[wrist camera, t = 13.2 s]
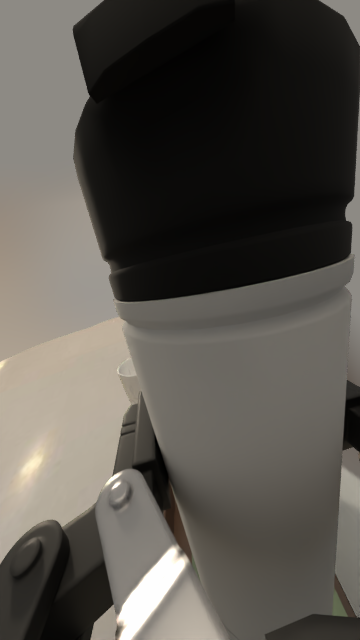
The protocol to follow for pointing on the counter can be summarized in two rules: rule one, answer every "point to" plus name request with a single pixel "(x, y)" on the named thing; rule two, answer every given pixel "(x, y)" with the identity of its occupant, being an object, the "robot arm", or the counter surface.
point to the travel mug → (232, 272)
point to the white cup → (129, 380)
